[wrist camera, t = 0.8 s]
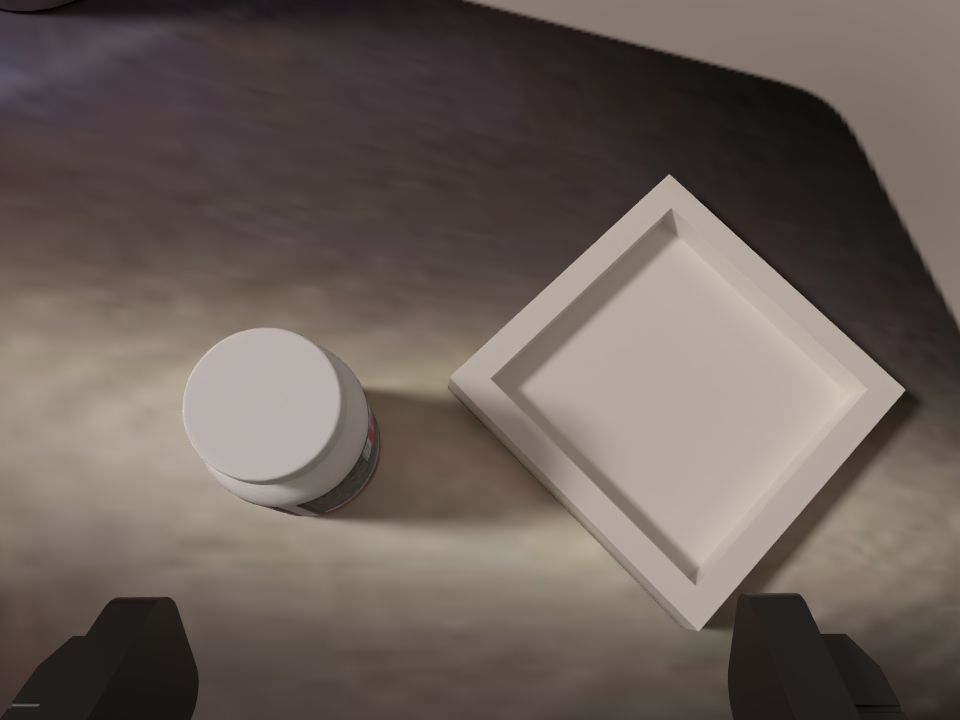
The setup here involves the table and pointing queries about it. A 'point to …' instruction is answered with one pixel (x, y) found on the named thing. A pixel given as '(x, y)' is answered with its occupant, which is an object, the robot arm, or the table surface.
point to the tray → (676, 399)
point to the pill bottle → (281, 422)
